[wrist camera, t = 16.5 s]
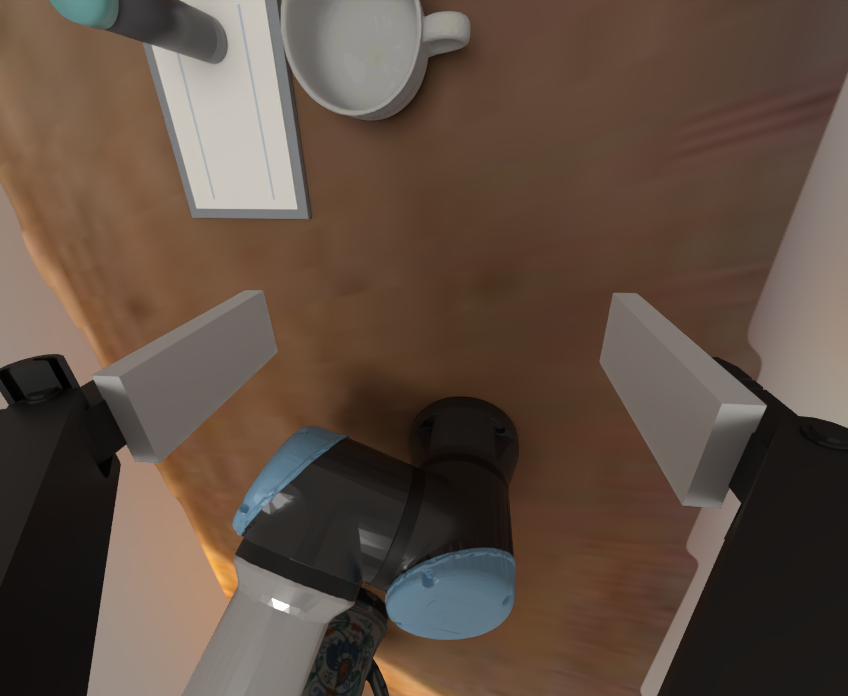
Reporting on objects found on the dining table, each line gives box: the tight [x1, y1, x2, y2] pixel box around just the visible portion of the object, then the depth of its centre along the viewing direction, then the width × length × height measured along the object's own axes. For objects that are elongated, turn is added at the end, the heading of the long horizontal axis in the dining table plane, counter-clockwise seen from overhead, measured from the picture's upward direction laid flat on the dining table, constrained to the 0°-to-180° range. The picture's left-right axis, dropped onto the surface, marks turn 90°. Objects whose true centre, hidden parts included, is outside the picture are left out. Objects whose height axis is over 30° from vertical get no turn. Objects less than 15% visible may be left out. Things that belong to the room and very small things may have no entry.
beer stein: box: [301, 587, 389, 696], centre depth 66 cm, size 16×19×25 cm
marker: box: [49, 0, 228, 64], centre depth 28 cm, size 4×4×13 cm
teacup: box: [281, 0, 470, 120], centre depth 30 cm, size 14×11×8 cm
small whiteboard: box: [143, 0, 312, 219], centre depth 37 cm, size 20×14×1 cm
